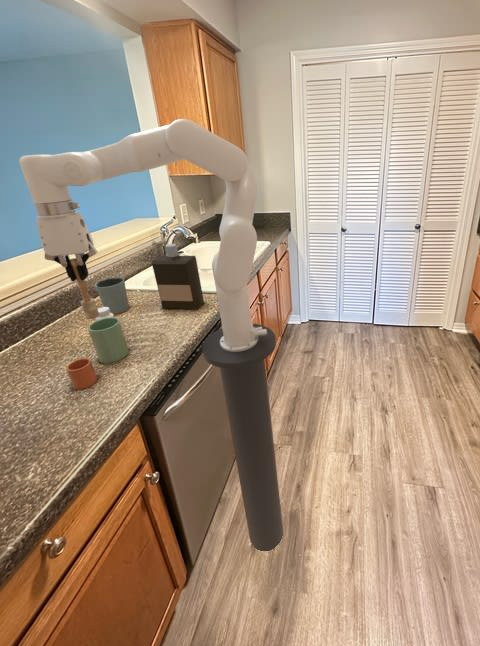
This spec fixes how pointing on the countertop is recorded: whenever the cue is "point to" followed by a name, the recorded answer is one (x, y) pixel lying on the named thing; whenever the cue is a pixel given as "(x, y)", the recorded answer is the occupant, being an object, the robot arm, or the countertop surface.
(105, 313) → the supplement bottle
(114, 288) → the blue-gray pot
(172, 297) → the bottle
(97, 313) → the brush
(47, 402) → the countertop surface
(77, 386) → the holder
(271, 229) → the countertop surface
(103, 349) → the tumbler
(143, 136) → the robot arm
